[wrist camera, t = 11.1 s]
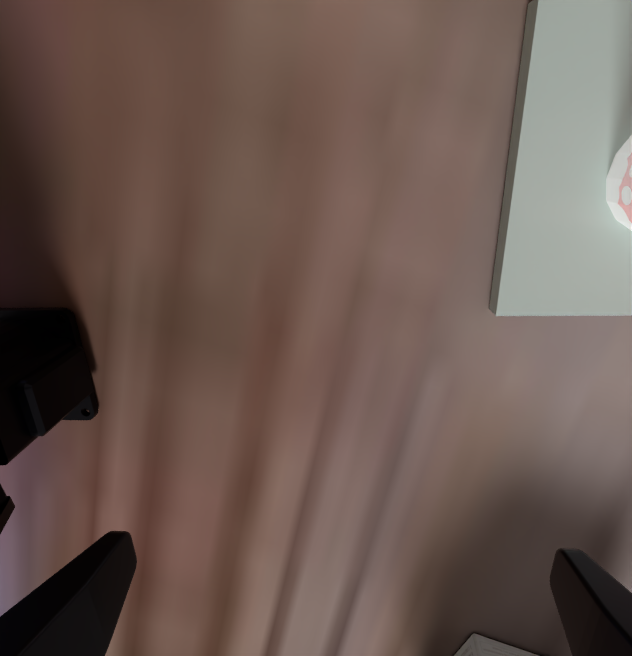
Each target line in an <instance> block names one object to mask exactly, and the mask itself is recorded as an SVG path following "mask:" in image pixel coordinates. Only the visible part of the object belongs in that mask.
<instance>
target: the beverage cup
mask: <svg viewBox="0 0 632 656" xmlns="http://www.w3.org/2000/svg"><path fill="white" fill-rule="evenodd" d="M606 201H607V203H608V205H609V207H610V209H611V211H612V213H613V215H614V217H615V219H616V220H617V221H619V222H620V223H621V224H623V225H624V226H626V227H627V228H628V229H630V230H631V231H632V135H631V136H630V137H629V139H628V140H627V141H626V142H625V143H624V145H623V146H622V147H621V148H620V150H619V151H618V152H617V153H616V155H615V157H614V160H613V162H612V165H611V168H610V170H609V173H608V175H607V178H606Z"/></svg>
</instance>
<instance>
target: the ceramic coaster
mask: <svg viewBox="0 0 632 656" xmlns="http://www.w3.org/2000/svg"><path fill="white" fill-rule="evenodd" d="M631 135H632V0H532V1H531V2H530V3H529V4H528V8H527V16H526V24H525V32H524V39H523V47H522V55H521V63H520V71H519V78H518V86H517V94H516V102H515V110H514V117H513V125H512V133H511V141H510V149H509V156H508V164H507V172H506V180H505V188H504V195H503V203H502V211H501V219H500V227H499V235H498V242H497V250H496V258H495V266H494V274H493V281H492V289H491V297H490V305H489V309H490V310H491V311H492V313H493V314H494V315H495V316H619V315H632V231H631V230H630V229H628V228H627V227H626V226H624V225H623V224H621V223H620V222H619V221H617V220H616V219H615V217H614V215H613V213H612V211H611V209H610V207H609V205H608V203H607V201H606V178H607V175H608V173H609V170H610V168H611V165H612V162H613V160H614V157H615V155H616V153H617V152H618V151H619V150H620V148H621V147H622V146H623V145H624V143H625V142H626V141H627V140H628V139H629V137H630V136H631Z"/></svg>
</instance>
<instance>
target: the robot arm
mask: <svg viewBox="0 0 632 656" xmlns="http://www.w3.org/2000/svg"><path fill="white" fill-rule="evenodd" d="M60 315H62V316H63V317H64V318H65V321H63V320H62V319H61V317H60ZM93 390H94V388H93V384H92V381H91V377H90V373H89V369H88V365H87V361H86V357H85V353H84V350H83V348H82V344H81V340H80V336H79V332H78V328H77V325H76V321H75V317H74V315H73V313H72V312H71V311H70V310H69V309H67V308H0V465H7V464H8V463H9V462H10V461H11V460H12V459H13V458H15V457H16V456H17V455H18V454H19V453H20V452H21V451H22V450H24V449H25V448H26V447H27V446H28V445H29V444H30V443H32V442H33V441H34V440H35V439H36V438H37V437H38V436H44V435H45V434H46V433H48V432H49V431H50V430H51V429H52V428H53V427H54V426H55V425H56V424H58V423H59V422H60V421H61V420H91V419H92V418H94V417H95V416H96V415H97V413H98V406H97V402H96V399H95V395H94V391H93ZM86 409H87V410H89V412H88V411H86ZM14 508H15V505H14V503H13V501H12V499H11V497H10V496H6V494H5V492H4V490H3V488H2V486H1V484H0V534H1V532H2V530H3V528H4V526H5V525H6V523H7V521H8V519H9V517H10V515H11V514H12V512H13V510H14ZM136 564H137V558H136V553H135V549H134V546H133V542H132V538H131V535H130V533H129V532H126V531H110V532H108V533H107V534H105V535H104V536H103V537H101V538H100V539H99V540H98V541H96V542H95V543H94V544H92V545H91V546H90V547H89V548H87V549H86V550H85V551H83V552H82V553H81V554H80V555H78V556H77V557H76V558H75V559H73V560H72V561H71V562H69V563H68V564H67V565H66V566H64V567H63V568H62V569H60V570H59V571H58V572H57V573H55V574H54V575H53V576H52V577H50V578H49V579H48V580H46V581H45V582H44V583H43V584H41V585H40V586H39V587H38V588H36V589H35V590H34V591H32V592H31V593H30V594H29V595H27V596H26V597H25V598H23V599H22V600H21V601H20V602H18V603H17V604H16V605H15V606H13V607H12V608H11V609H9V610H8V611H7V612H6V613H4V614H3V615H2V616H0V656H105V654H106V651H107V649H108V647H109V644H110V641H111V639H112V636H113V633H114V630H115V627H116V624H117V622H118V619H119V616H120V613H121V610H122V607H123V604H124V601H125V599H126V596H127V593H128V590H129V587H130V584H131V581H132V578H133V575H134V573H135V569H136ZM550 585H551V590H552V593H553V596H554V599H555V602H556V605H557V609H558V612H559V615H560V618H561V621H562V624H563V627H564V630H565V634H566V637H567V640H568V643H569V646H570V649H571V652H572V655H573V656H632V593H631V592H630V591H629V590H628V589H626V588H625V587H624V586H623V585H622V584H620V583H619V582H618V581H617V580H616V579H615V578H613V577H612V576H611V575H610V574H609V573H608V572H606V571H605V570H604V569H603V568H602V567H601V566H599V565H598V564H597V563H596V562H595V561H594V560H592V559H591V558H590V557H589V556H588V555H586V554H585V553H584V552H583V551H581V550H579V549H567V548H560V549H558V550H557V551H556V554H555V558H554V562H553V566H552V570H551V574H550Z"/></svg>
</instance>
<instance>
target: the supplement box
mask: <svg viewBox="0 0 632 656" xmlns="http://www.w3.org/2000/svg"><path fill="white" fill-rule="evenodd" d="M454 656H539V655H536V654H533V653H530V652H527V651H524V650H521V649H519V648H516V647H513V646H509V645H506V644H503V643H501V642H498V641H495V640H492V639H489V638H486V637H483V636H481V635H478V634H475V633H474V634H472V635H471V637H470V638H469V639H468V640H467V641H466V642H465V644H464V645H463V646H462V647H461V648H460V649H459V650H458V652H457V653H456V654H455V655H454Z"/></svg>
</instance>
